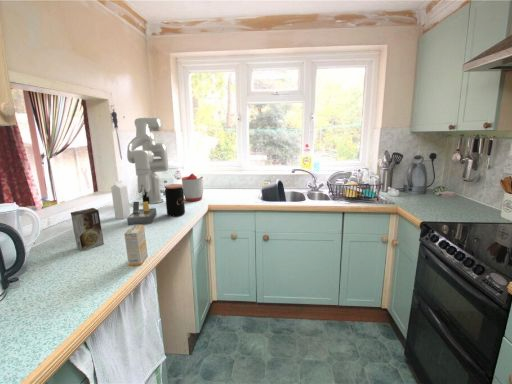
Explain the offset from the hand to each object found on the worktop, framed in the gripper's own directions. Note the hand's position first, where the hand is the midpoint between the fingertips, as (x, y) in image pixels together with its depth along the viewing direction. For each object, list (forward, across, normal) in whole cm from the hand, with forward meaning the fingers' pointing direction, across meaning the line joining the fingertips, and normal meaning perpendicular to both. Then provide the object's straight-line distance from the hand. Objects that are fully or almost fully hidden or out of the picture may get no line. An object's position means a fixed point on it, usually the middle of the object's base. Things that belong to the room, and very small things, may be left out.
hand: (146, 204), depth 154 cm
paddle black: (+5, 0, -6) cm, 8 cm away
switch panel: (+9, 0, -3) cm, 9 cm away
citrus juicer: (+7, -44, +25) cm, 51 cm away
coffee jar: (+9, -6, +15) cm, 19 cm away
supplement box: (+12, +56, +7) cm, 58 cm away
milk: (+9, -8, -16) cm, 19 cm away
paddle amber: (+5, 0, 0) cm, 5 cm away
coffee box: (+11, +35, -18) cm, 41 cm away
